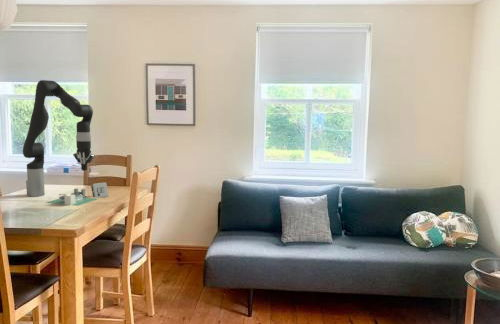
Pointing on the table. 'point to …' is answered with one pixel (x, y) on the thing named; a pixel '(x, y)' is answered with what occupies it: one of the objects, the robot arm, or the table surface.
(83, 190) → the board
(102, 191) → the electrical switch
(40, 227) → the table surface
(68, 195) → the latch
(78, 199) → the white slotted block
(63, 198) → the thin grey panel
